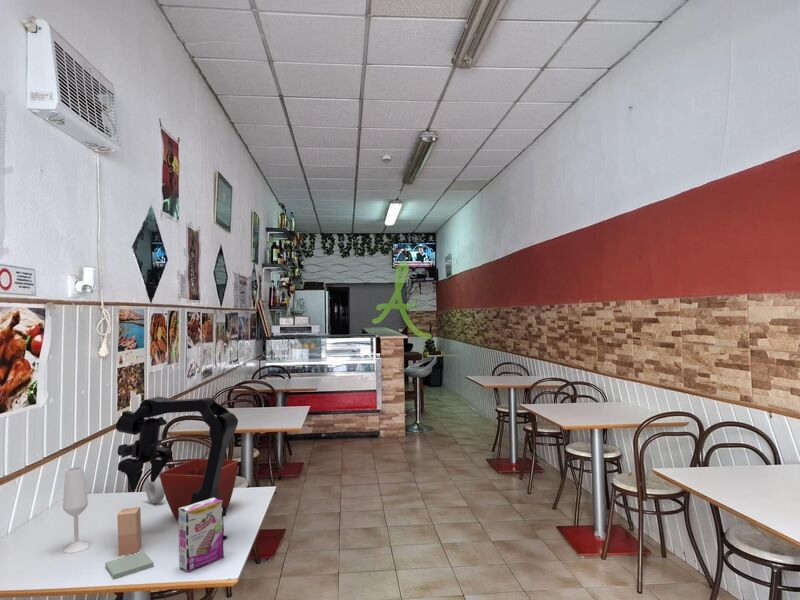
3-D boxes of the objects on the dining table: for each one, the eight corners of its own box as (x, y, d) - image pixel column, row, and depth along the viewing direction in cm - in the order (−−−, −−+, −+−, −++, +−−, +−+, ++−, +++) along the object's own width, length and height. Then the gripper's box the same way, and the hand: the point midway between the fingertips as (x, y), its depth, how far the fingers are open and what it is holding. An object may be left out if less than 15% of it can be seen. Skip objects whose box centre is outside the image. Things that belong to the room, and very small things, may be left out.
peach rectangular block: (141, 546, 162) (140, 507, 162) (136, 553, 157) (135, 512, 157) (123, 549, 161) (122, 508, 161) (118, 556, 156) (117, 514, 156)
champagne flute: (66, 545, 165) (64, 467, 166) (91, 541, 167) (89, 464, 168) (61, 554, 159) (59, 473, 159) (87, 550, 161) (84, 470, 162)
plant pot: (159, 523, 181) (157, 473, 181) (197, 503, 199) (195, 458, 199) (206, 527, 175) (204, 475, 175) (241, 507, 193) (239, 460, 193)
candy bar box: (188, 573, 143) (186, 511, 143) (178, 568, 146) (176, 508, 147) (225, 557, 152) (223, 499, 152) (215, 553, 155) (213, 496, 155)
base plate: (143, 555, 155) (143, 551, 156) (153, 566, 148) (153, 562, 148) (105, 566, 149) (105, 562, 149) (113, 579, 141) (113, 574, 141)
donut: (167, 504, 199) (166, 477, 199) (158, 507, 196) (157, 479, 197) (153, 499, 205) (152, 473, 205) (144, 502, 202) (143, 476, 203)
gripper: (146, 426, 179) (140, 472, 179) (105, 439, 161) (99, 490, 161) (175, 432, 177) (170, 479, 177) (137, 446, 159) (130, 498, 159)
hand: (143, 486), depth 169 cm, fingers open, 9 cm apart
